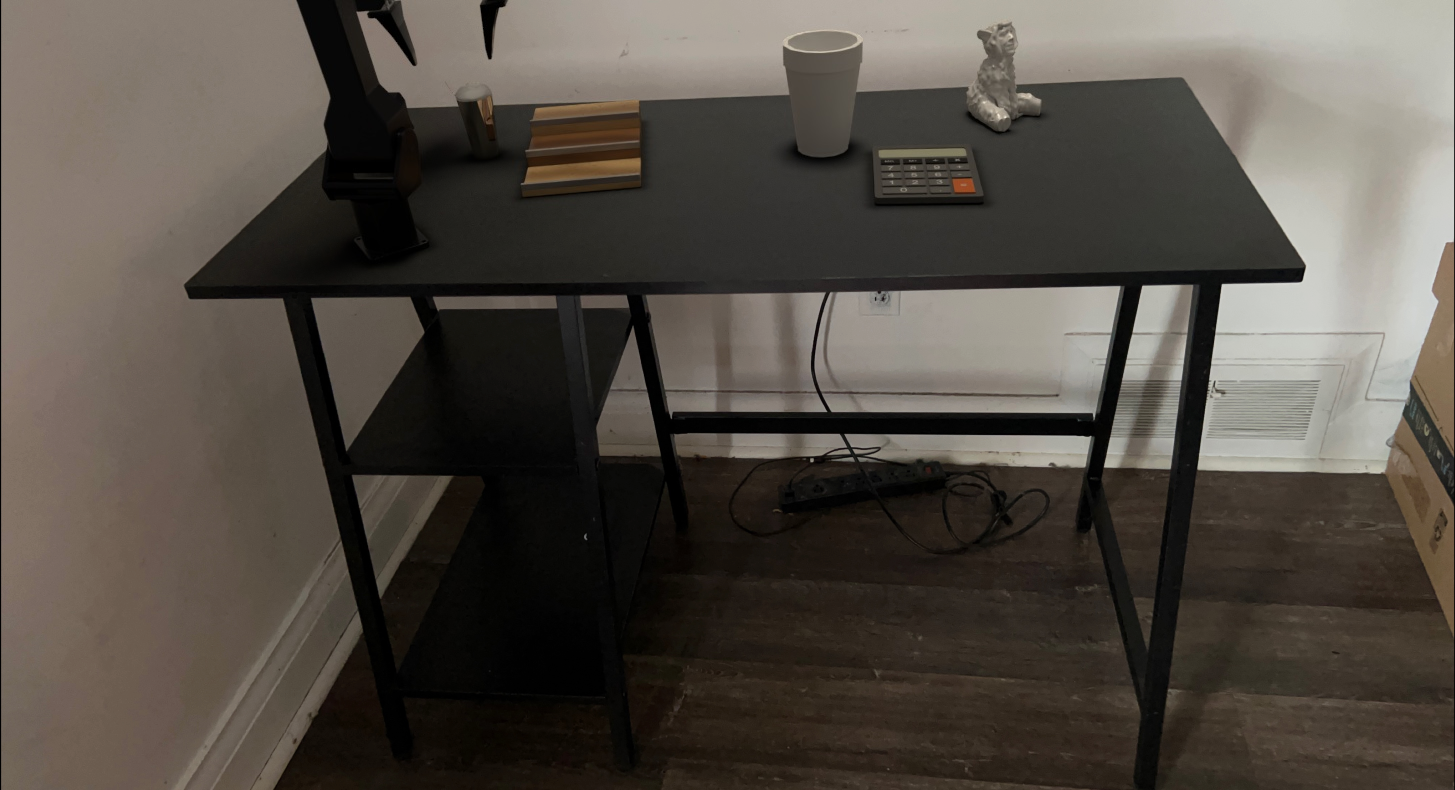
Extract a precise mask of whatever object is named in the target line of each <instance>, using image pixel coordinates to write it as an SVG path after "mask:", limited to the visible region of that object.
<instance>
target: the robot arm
mask: <svg viewBox="0 0 1455 790" xmlns="http://www.w3.org/2000/svg"><path fill="white" fill-rule="evenodd" d="M295 1H296V4H297V7H298V9H299V12H300V16H301V18H302V21H303V23H304V27H305V30H306V32H307V35H308V38H309V40H310V43H311V46H312V49H313V52H314V55H315V58H316V60H317V63H318V66H319V69H320V71H321V74H322V78H323V81H324V83H325V85H326V89H327V91H328V95H329V101H328V104H327V109H326V112H325V115H324V120H323V129H324V133H325V136H326V141H327V143H326V150H325V155H324V156H325V157H324V164H323V172H322V178H321V179H322V180H321V189H322V190H323V192H324V194H325V195H326V197H327V198H328V200H329V201H334V202H335V201H349V203H350V206H351V209H352V213H353V216H354V219H355V221H356V225H357V228H358V231H359V235H360V236H357V237H355V238H354V239H353V242H354V244H355V245H356V247H357V248H358V249H359V250H360V251H361V253H362V254H363V256H365V258H366V259H367V260H368V261H369V262H370V263H372V264H374V263H375V264H376V263H378V262H381V261H384V260H387V259H391V258H394V257H397V256H400V255H403V254H406V253H409V252H413V251H416V250H419V249H423V248H426V247H428V246H430V241H429V239H428V238H427V237H426V236H425V235H424V234H423V233H422V232H421V231H420V230H419V229H418V227H416V224H415V221H414V217H413V213H412V210H411V206H410V203H409V199H408V198H409V197H411V195H412V194H413V193H414V192H415V191H416V190H417V189H418V188H419V187H421V185H422V184H423V180H422V170H421V169H422V167H421V158H420V148H419V147H420V146H419V140H418V136H417V134H416V132H415V131H414V130H415V126H414V124H413V122H412V120H411V117H410V114H409V110H408V105H407V101H406V99H405V98H404V96H403V95H402V93H401V92H400V91H388V90H387V89H386V88H385V87H384V86H383V85H381V83H380V81H379V78H378V75H377V72H376V69H375V65H374V63H373V59H372V56H371V53H370V50H369V46H368V44H367V40H366V37H365V34H364V31H363V27H362V25H361V21H360V19H359V16H358V13H361V12H367V13H366V16H367V18H368V19H375V20H376V21H377V22H378V23H379V24H380V25H381V26H382V27H383V29H384V30H385V31H386V32H387V33H388V35H389V36H391V38H392V39H393V40H394V42H395V43H396V45H397V46H398V48H399V49H400V50H401V52H402V53H403V54H404V56H405V57H406V58H407V60H408V61H409V63H410V64H411V66H412V67H417V65H418V58H417V54H416V49H415V47H414V45H413V44H414V43H413V41H412V37H411V35H410V32H409V29H408V25H407V23H406V20H405V17H404V11H403V4H402V0H295ZM508 2H509V0H481V2H480V4H479V12H480V18H481V19H480V20H481V26H482V27H481V28H482V34H483V41H484V49H485V53H486V56H487V59H488V61H490V60H492V59H493V54H494V44H495V35H496V25H497V20H498V15H499V12H500V9H501V8H505V7H507V5H508ZM354 174H393V175H392V177H355V175H354Z"/></svg>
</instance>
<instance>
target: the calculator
mask: <svg viewBox="0 0 1455 790" xmlns="http://www.w3.org/2000/svg"><path fill="white" fill-rule="evenodd" d="M975 160H976V159H975V156H974V152H973V149H972V145H971V144H969V143H951V144H948V143H947V144H903V145H901V144H899V145H873V146H872V171H873V172H872V173H873V196H874V203H875V204H877V205H898V204H899V205H900V204H901V205H902V204H905V205H907V204H908V205H909V204H972V203H974V204H975V203H977V204H978V203H979V204H980V203H983V202H984V195H985V194H984V190H983V187H982V181H981V179H980V175H979V172H978V168H977V164H976V161H975Z"/></svg>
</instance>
